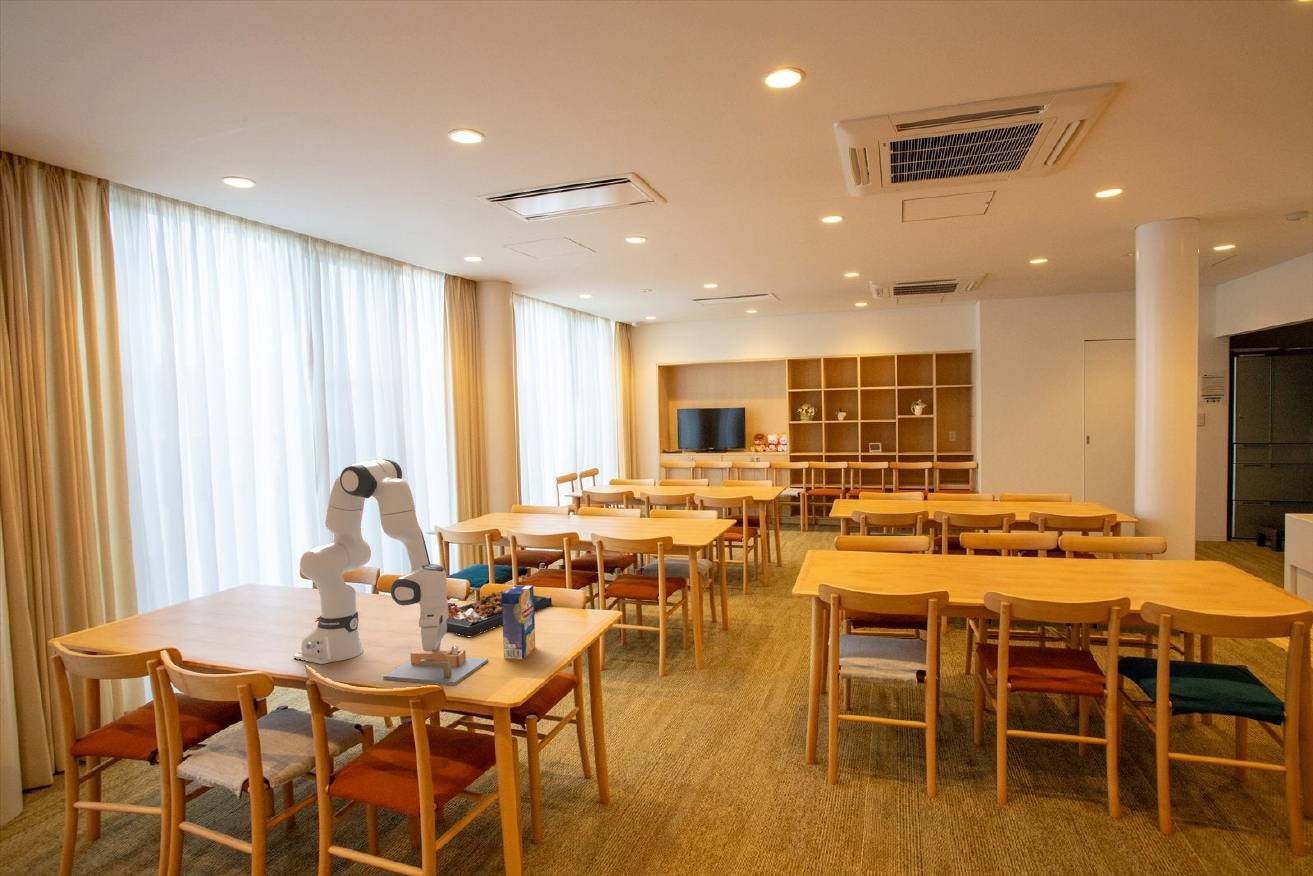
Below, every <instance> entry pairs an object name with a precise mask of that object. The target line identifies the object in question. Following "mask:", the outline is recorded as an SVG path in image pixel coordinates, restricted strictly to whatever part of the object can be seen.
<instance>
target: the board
mask: <svg viewBox="0 0 1313 876" xmlns="http://www.w3.org/2000/svg"><path fill="white" fill-rule="evenodd" d="M486 662H487V663H488V662H489V658H481V657H468V656H466V661H465V662H463V663H462V664H461V665H460V666H451V672H452V676H451V677H450V678H448V679H445V678H444V673H443V666H435V665H423V664H411V659H410V660H409V661H407V662H405V663H403V664H402V665H400V666H398V667H396V668H395V669H393V670H391V671H390V672H388V673H386V674H384V675H383V678H382V679H383V680H388V681H397V682H398V681H400V682H409V683H410V682H413V683H423V684H432V683H438V684H437V685H445V686H456V685H458V684H459V683H461V682H462V681H463V680H465V679H466V678H467V677H468V675H469V676H470V675H472V674H473V673H475V672H476V671H478V670H479V669H480V668H482V667H483V666H484V665H486V664H487V663H486ZM485 663H486V664H485ZM483 664H484V665H483ZM482 665H483V666H482ZM478 668H479V669H478ZM471 673H472V674H471ZM464 678H465V679H464Z"/></svg>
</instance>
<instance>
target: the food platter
mask: <svg viewBox="0 0 1313 876" xmlns="http://www.w3.org/2000/svg"><path fill="white" fill-rule="evenodd" d="M503 592H504V591H503V590H501V591H499V592H497V593H495V592H491V593H488V595H487V594H486V595H483V596H482V597H481V599H480V600H478V601H475V602H472V603H469V604H465V605H462V606H460V607H459V606H458V604H456V603H455V602H453V603H451V602H448V612H449V618H448V619H446V620H447V632H448V633H452V632H453V634H456V633H457V634H460V635H464V636H463V637H465V636H473V637H475V636H474V635H476V634H478V633H480V632H483V633H485V632H484V631H486V630H488V631H490V630H489V629H491V628H493V627H496V628H498V627H500V626H499V625H501V626H503V625H502V624H503V618H502V593H503ZM552 601H553V600H552V597H548V596H542V595H535V594H534V613H535V611H536V612H538V611H540V610H539V609H541V610H544V609H545V608H547V607H550V606H553V605H552V604H553V603H552ZM537 610H538V611H537ZM497 626H498V627H497ZM493 629H494V628H493ZM491 630H492V629H491ZM447 632H446V633H447ZM486 632H487V631H486ZM460 635H459V636H460ZM478 635H479V634H478ZM476 636H477V635H476Z"/></svg>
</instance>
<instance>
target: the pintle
mask: <svg viewBox="0 0 1313 876" xmlns="http://www.w3.org/2000/svg"><path fill="white" fill-rule="evenodd" d="M451 650H452V655H458V650H459V646H457V645H453V646H451Z"/></svg>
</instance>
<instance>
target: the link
mask: <svg viewBox="0 0 1313 876" xmlns="http://www.w3.org/2000/svg"><path fill="white" fill-rule="evenodd" d="M466 657H467V656H466V650H465V649H464V650H463V649H458V655H452V649H450V650H440V651H424V650H423V649H420V650H419V649H414V650H413V651H412V652H410V660H411V664H420V660H422V659H433V660H446V661H451V666H460V665H461V664H462V663H463V662H465V661H466Z"/></svg>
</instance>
